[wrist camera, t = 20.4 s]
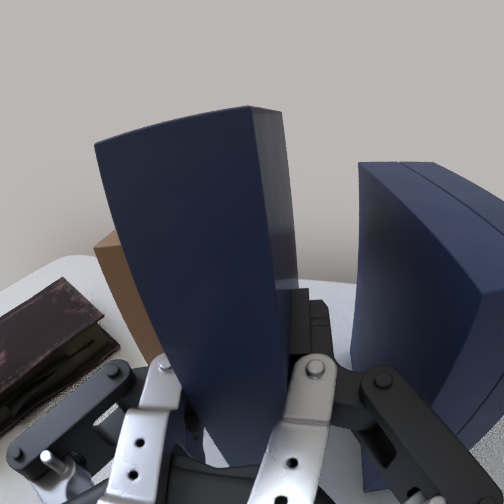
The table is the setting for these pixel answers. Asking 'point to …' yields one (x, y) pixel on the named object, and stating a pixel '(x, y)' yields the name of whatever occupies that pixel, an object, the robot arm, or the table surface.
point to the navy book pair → (431, 293)
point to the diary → (47, 348)
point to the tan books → (127, 296)
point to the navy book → (213, 260)
